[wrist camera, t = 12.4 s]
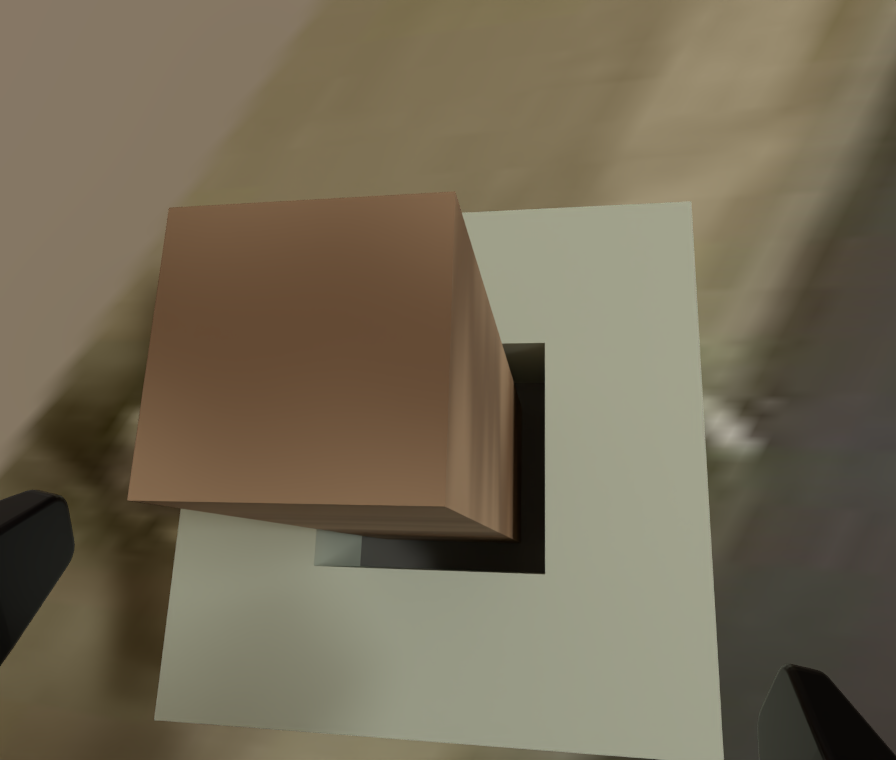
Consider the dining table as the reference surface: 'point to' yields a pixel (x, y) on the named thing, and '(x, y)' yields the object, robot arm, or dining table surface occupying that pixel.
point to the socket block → (502, 564)
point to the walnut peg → (330, 372)
